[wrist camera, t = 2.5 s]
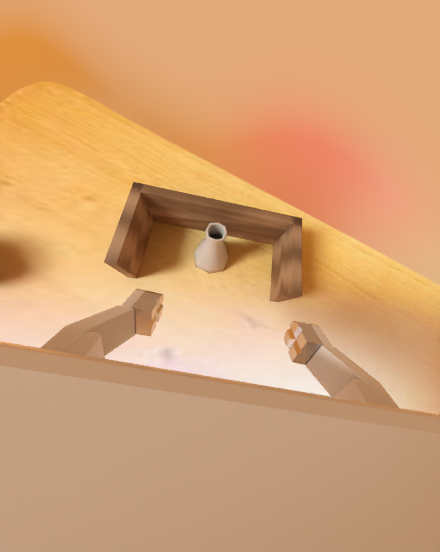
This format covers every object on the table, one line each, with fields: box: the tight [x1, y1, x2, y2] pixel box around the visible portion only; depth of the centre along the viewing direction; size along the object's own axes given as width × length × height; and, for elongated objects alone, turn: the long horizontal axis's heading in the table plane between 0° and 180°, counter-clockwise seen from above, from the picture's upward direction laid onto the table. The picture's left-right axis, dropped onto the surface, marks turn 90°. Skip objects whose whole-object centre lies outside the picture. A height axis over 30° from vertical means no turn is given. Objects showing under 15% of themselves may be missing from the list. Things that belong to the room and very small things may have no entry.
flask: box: [194, 222, 229, 273], centre depth 29 cm, size 7×7×10 cm
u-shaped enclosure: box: [104, 182, 302, 302], centre depth 30 cm, size 14×29×8 cm, turn 82°
